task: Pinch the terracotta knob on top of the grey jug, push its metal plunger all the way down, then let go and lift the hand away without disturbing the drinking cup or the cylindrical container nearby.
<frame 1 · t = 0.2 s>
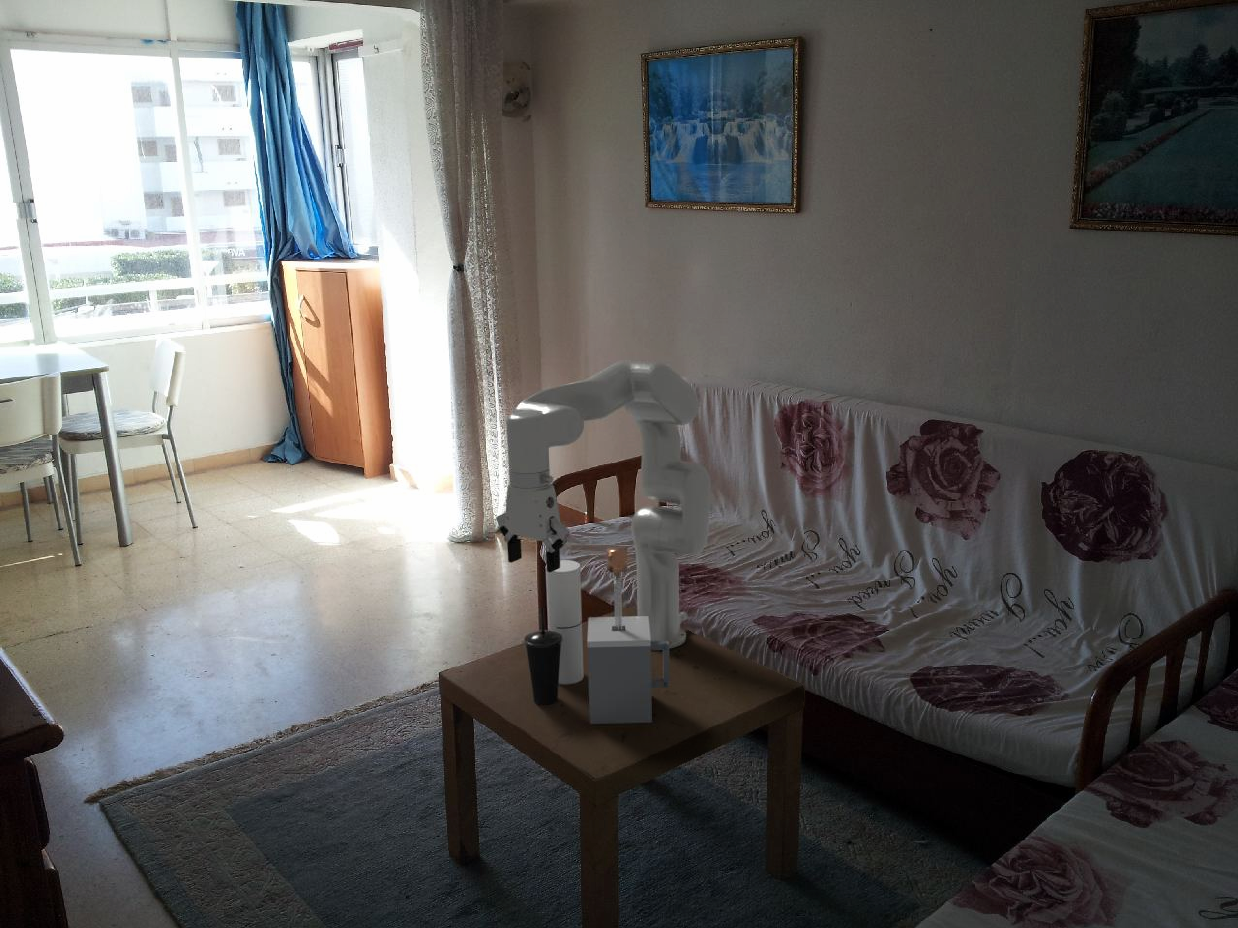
hand: (534, 565, 202), 32 cm above the table, tool pointing down, fingers open, 9 cm apart
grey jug: (620, 708, 213), on the table
plunger: (618, 606, 207), point 22 cm above the table, slide at 8.0 cm
cylindrical container: (566, 677, 227), on the table
drinking cup: (545, 701, 217), on the table
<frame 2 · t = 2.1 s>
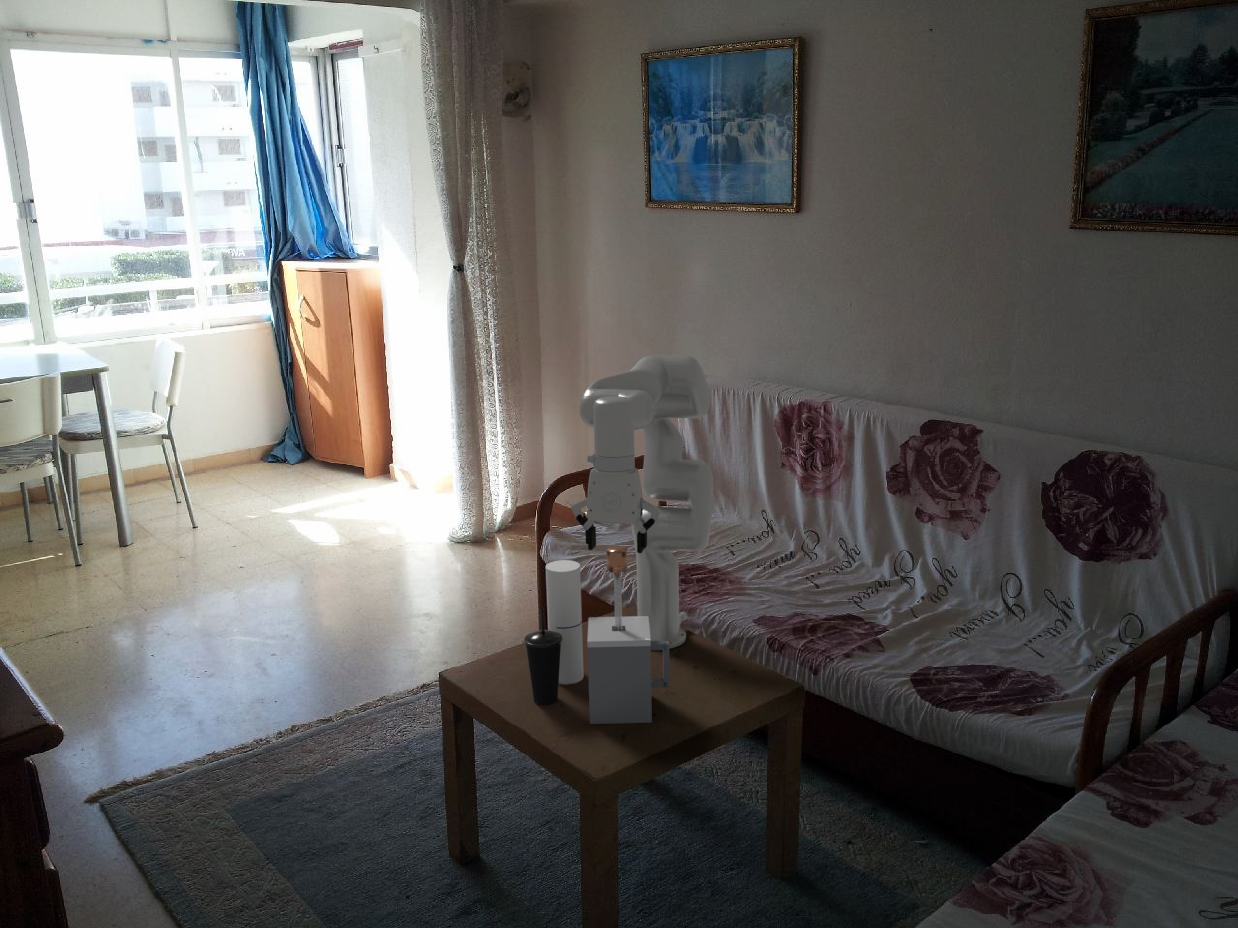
hand: (616, 549, 204), 34 cm above the table, tool pointing down, fingers open, 9 cm apart
nothing on the table moved.
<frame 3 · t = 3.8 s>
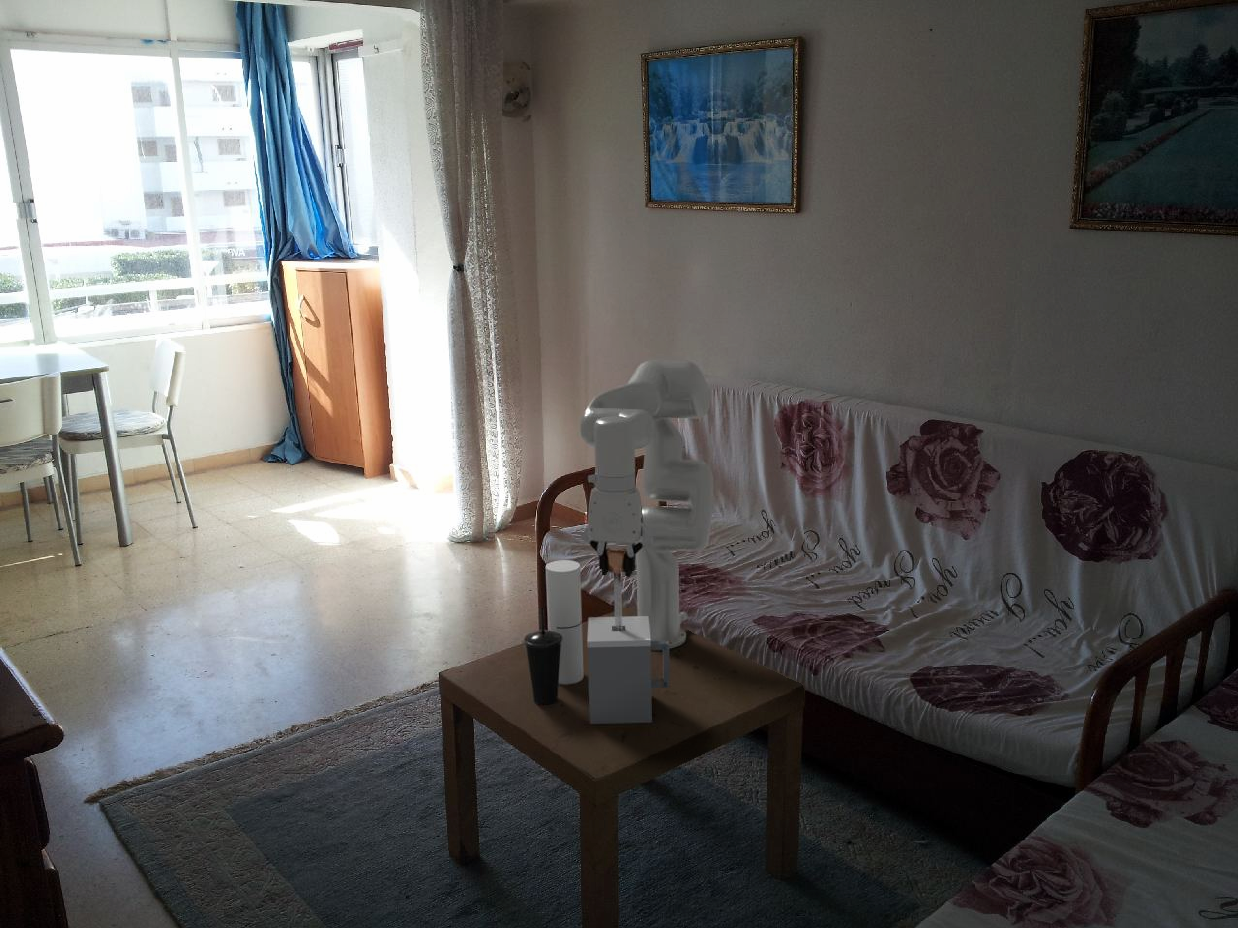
hand: (617, 572, 206), 29 cm above the table, tool pointing down, fingers closed on plunger, 4 cm apart
plunger: (618, 606, 207), point 22 cm above the table, slide at 8.0 cm, touching gripper
everything else where it was.
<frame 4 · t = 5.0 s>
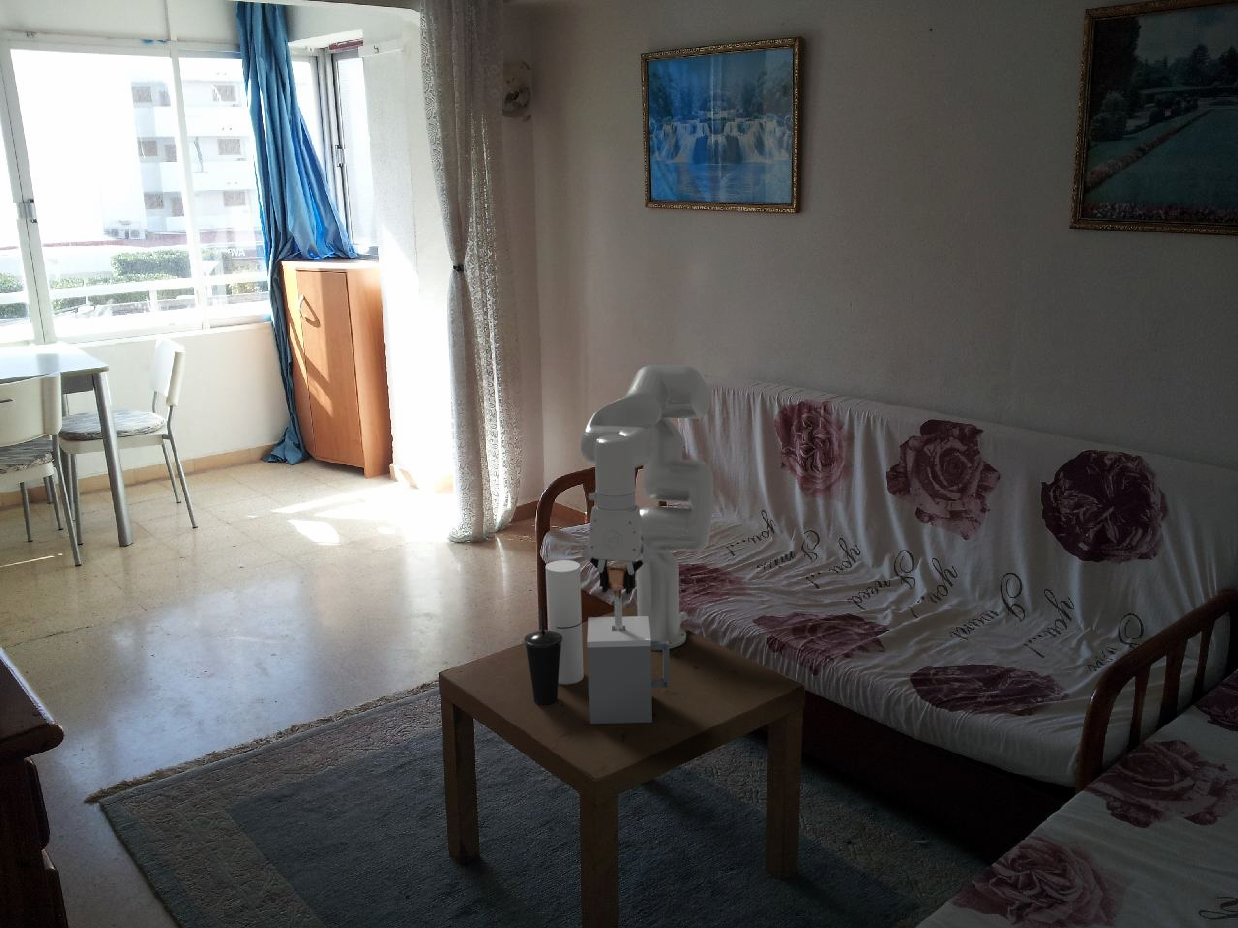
hand: (617, 590, 207), 25 cm above the table, tool pointing down, fingers closed on plunger, 4 cm apart
plunger: (618, 623, 208), point 18 cm above the table, slide at 4.5 cm, touching gripper
everything else where it was.
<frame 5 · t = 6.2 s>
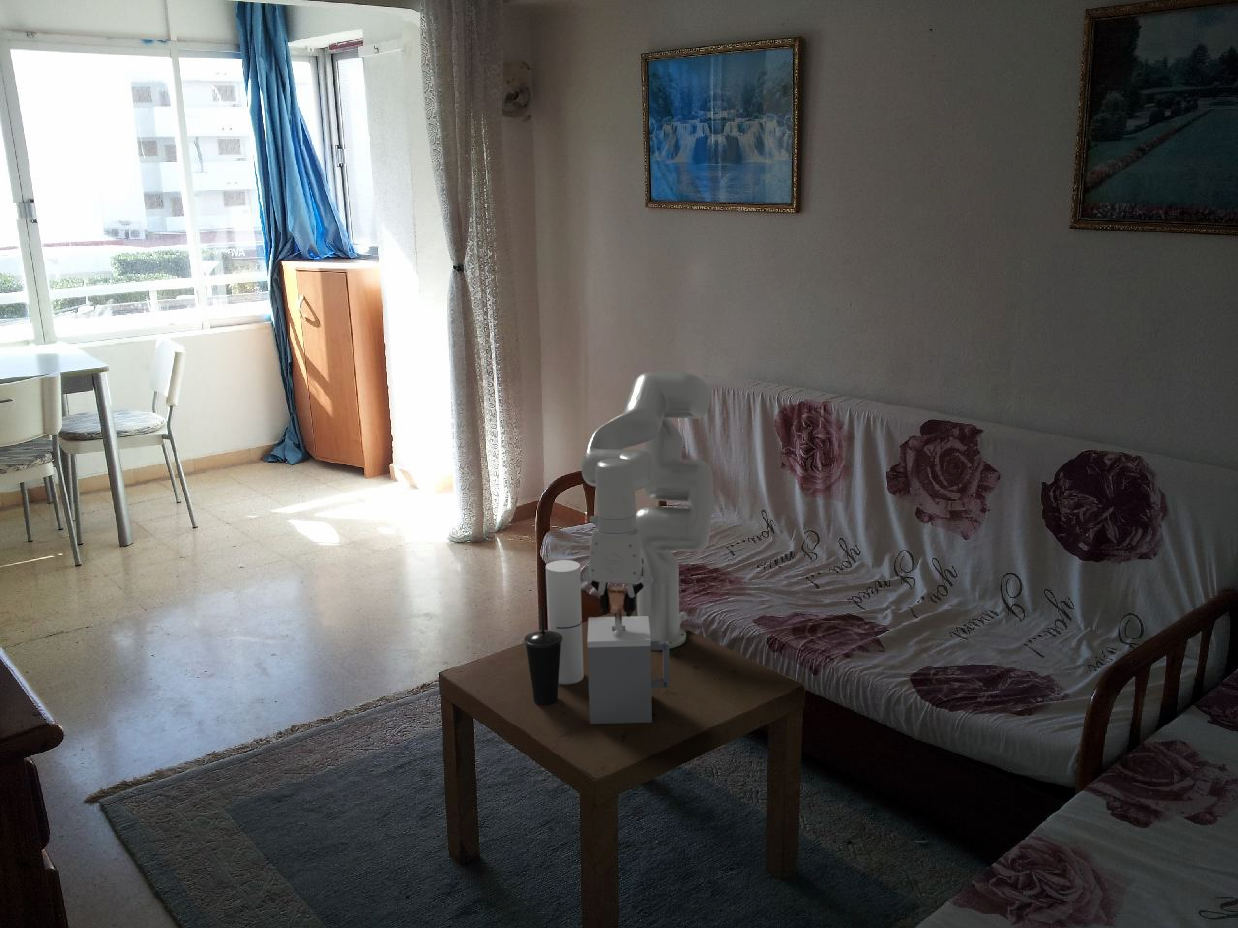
hand: (618, 612, 208), 21 cm above the table, tool pointing down, fingers closed on plunger, 4 cm apart
plunger: (619, 645, 209), point 14 cm above the table, slide at -0.2 cm, touching gripper
everything else where it was.
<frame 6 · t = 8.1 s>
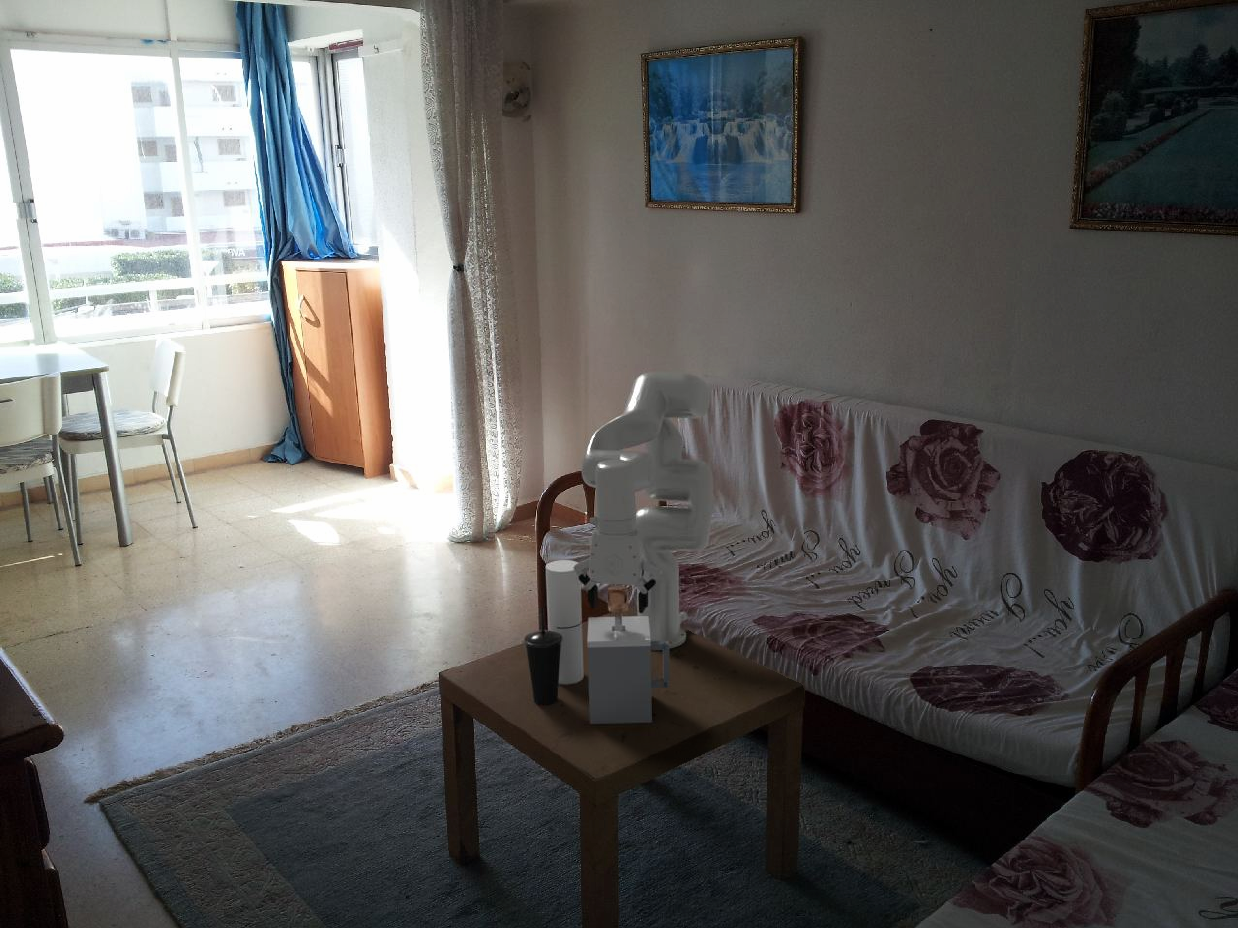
hand: (618, 608, 207), 21 cm above the table, tool pointing down, fingers open, 9 cm apart
plunger: (619, 644, 209), point 14 cm above the table, slide at -0.1 cm
everything else where it was.
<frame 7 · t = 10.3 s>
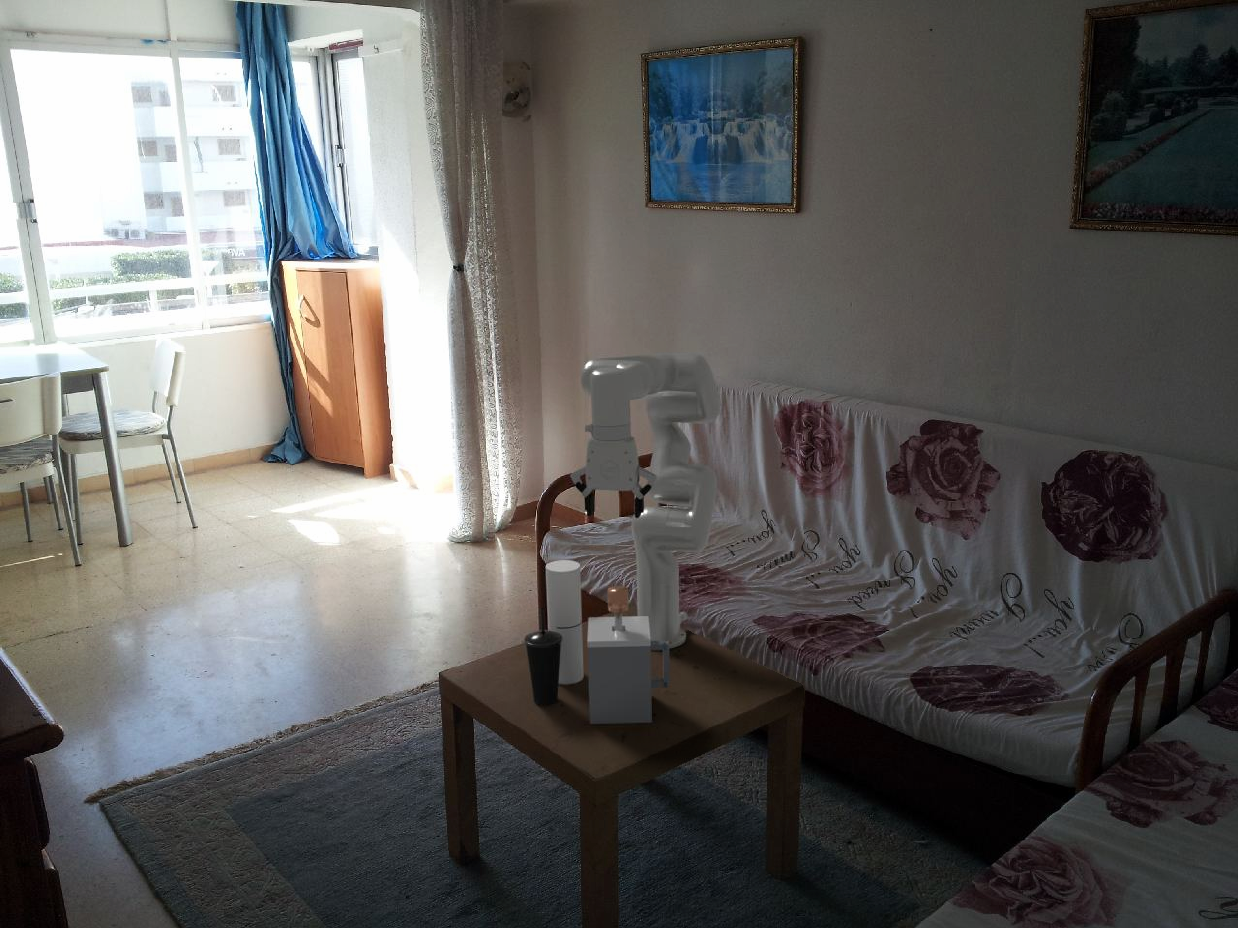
hand: (614, 514, 212), 38 cm above the table, tool pointing down, fingers open, 9 cm apart
nothing on the table moved.
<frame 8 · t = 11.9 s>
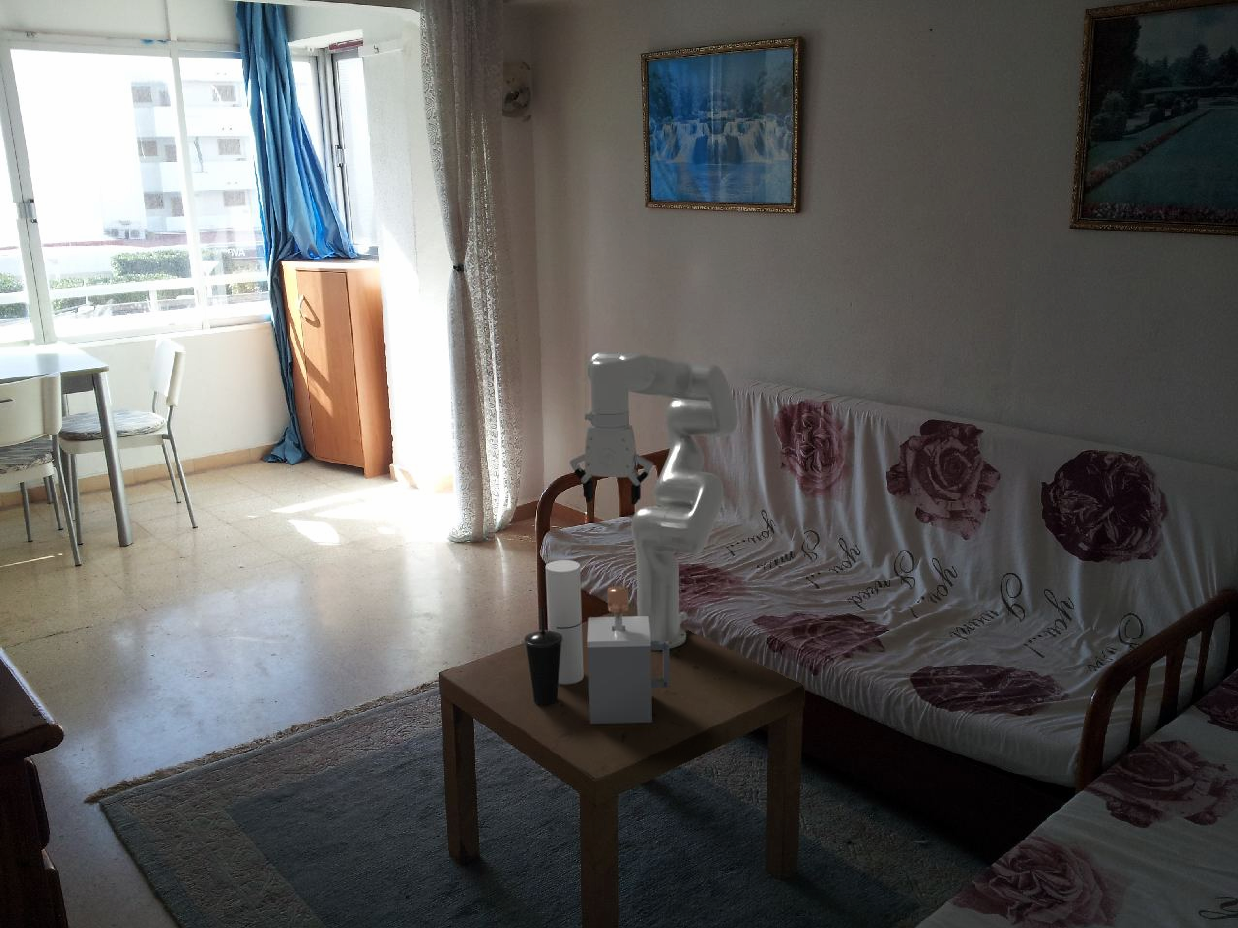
hand: (612, 501, 219), 38 cm above the table, tool pointing down, fingers open, 9 cm apart
nothing on the table moved.
at the end: plunger slide at -0.1 cm; the gripper is holding nothing; drinking cup moved 0.2 cm from its start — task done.
